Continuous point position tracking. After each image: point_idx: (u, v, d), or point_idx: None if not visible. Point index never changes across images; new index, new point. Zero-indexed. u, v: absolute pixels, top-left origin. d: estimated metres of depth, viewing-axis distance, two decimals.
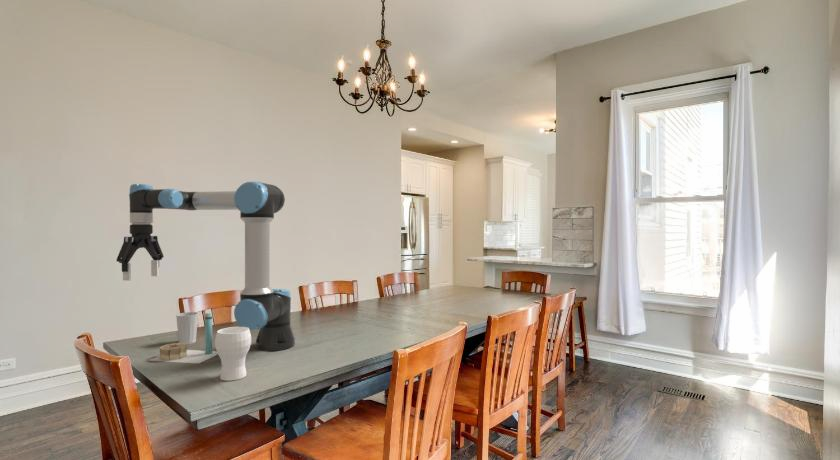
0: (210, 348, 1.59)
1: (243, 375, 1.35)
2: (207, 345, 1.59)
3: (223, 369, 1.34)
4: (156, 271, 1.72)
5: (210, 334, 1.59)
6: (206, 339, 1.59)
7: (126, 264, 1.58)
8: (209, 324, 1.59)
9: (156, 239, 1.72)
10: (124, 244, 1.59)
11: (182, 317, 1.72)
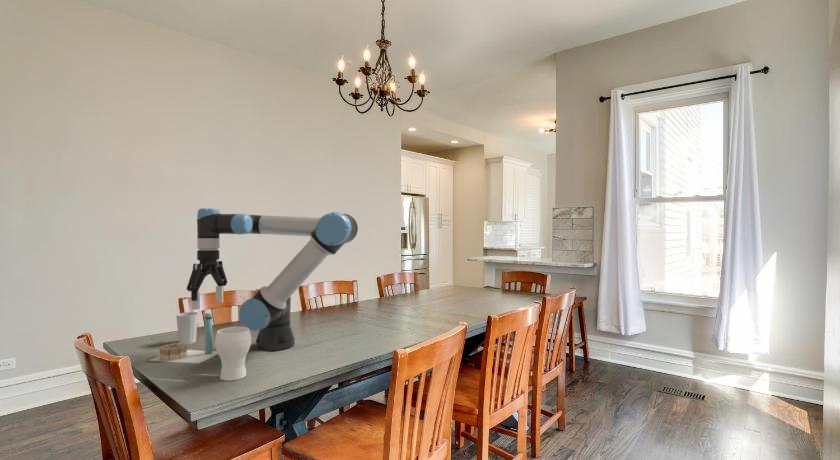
0: (210, 348, 1.59)
1: (243, 375, 1.35)
2: (207, 345, 1.59)
3: (223, 369, 1.34)
4: (221, 297, 1.66)
5: (210, 334, 1.59)
6: (206, 339, 1.59)
7: (196, 293, 1.52)
8: (209, 324, 1.59)
9: (221, 264, 1.66)
10: (193, 272, 1.52)
11: (182, 317, 1.72)
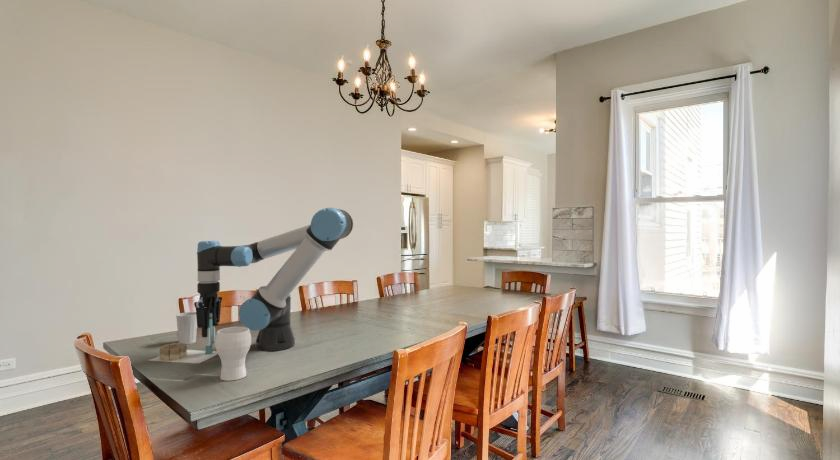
0: (210, 348, 1.59)
1: (243, 375, 1.35)
2: None
3: (223, 369, 1.34)
4: (213, 338, 1.61)
5: (210, 334, 1.59)
6: None
7: (206, 329, 1.57)
8: (209, 324, 1.59)
9: (220, 300, 1.65)
10: (197, 310, 1.54)
11: (182, 317, 1.72)
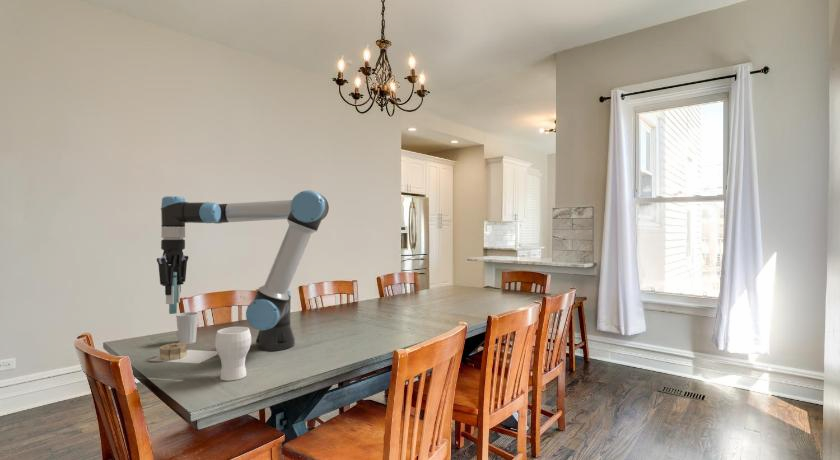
0: (174, 307, 1.55)
1: (243, 375, 1.35)
2: (171, 304, 1.54)
3: (223, 369, 1.34)
4: (177, 297, 1.56)
5: (174, 293, 1.55)
6: None
7: (169, 287, 1.53)
8: (173, 283, 1.54)
9: (186, 259, 1.60)
10: (160, 266, 1.50)
11: (182, 317, 1.72)
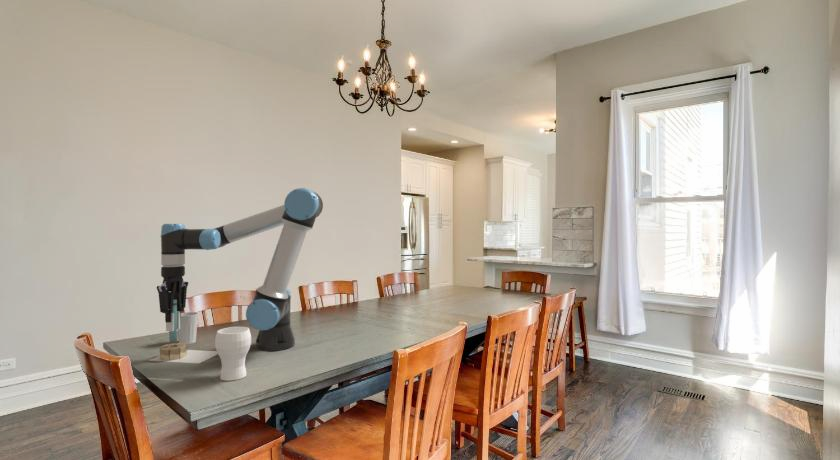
0: (174, 335, 1.55)
1: (243, 375, 1.35)
2: (171, 332, 1.54)
3: (223, 369, 1.34)
4: (178, 323, 1.56)
5: (174, 321, 1.55)
6: None
7: (170, 314, 1.53)
8: (173, 310, 1.54)
9: (186, 285, 1.60)
10: (160, 294, 1.50)
11: (182, 317, 1.72)
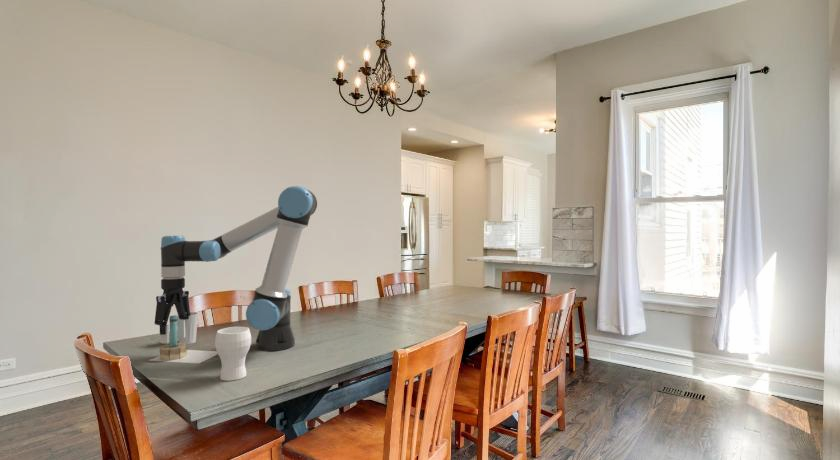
0: None
1: (243, 375, 1.35)
2: None
3: (223, 369, 1.34)
4: (183, 332, 1.59)
5: (175, 337, 1.55)
6: (170, 342, 1.54)
7: (164, 326, 1.50)
8: (174, 327, 1.54)
9: (187, 294, 1.61)
10: (158, 305, 1.49)
11: None
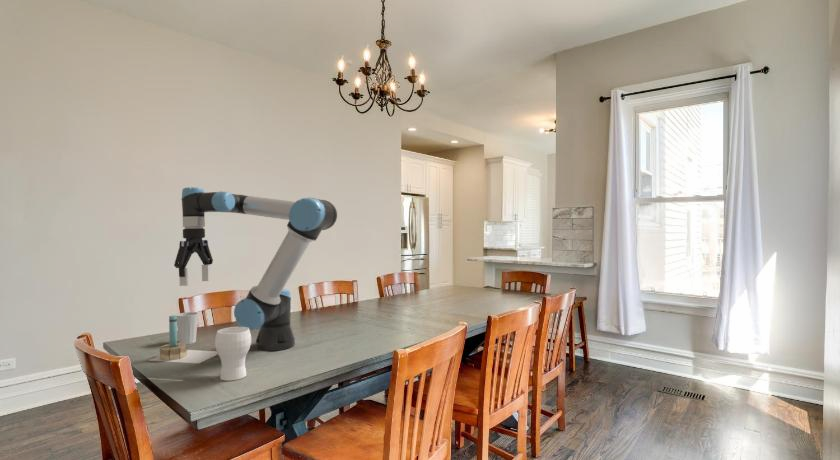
0: None
1: (243, 375, 1.35)
2: None
3: (223, 369, 1.34)
4: (207, 276, 1.69)
5: (174, 337, 1.55)
6: (170, 342, 1.54)
7: (183, 269, 1.55)
8: (173, 327, 1.54)
9: (207, 243, 1.69)
10: (180, 249, 1.56)
11: (182, 317, 1.72)
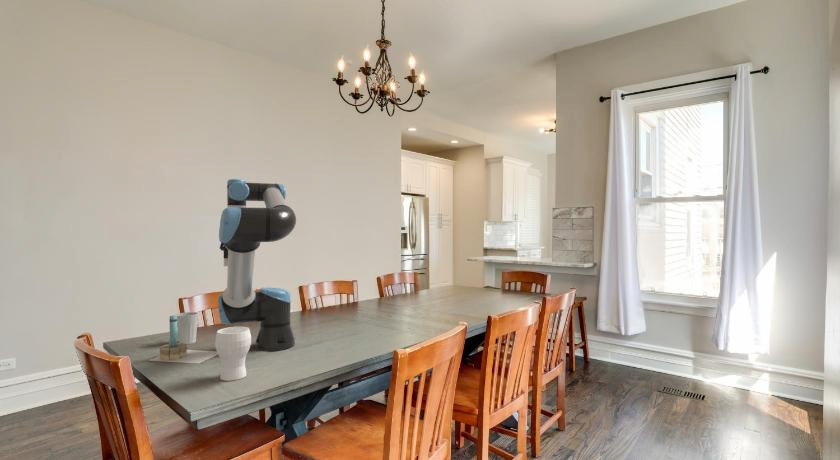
0: None
1: (243, 375, 1.35)
2: None
3: (223, 369, 1.34)
4: None
5: (175, 337, 1.55)
6: (170, 342, 1.54)
7: (227, 251, 1.75)
8: (174, 327, 1.54)
9: None
10: None
11: (182, 317, 1.72)
